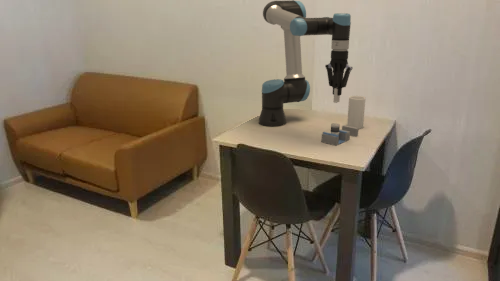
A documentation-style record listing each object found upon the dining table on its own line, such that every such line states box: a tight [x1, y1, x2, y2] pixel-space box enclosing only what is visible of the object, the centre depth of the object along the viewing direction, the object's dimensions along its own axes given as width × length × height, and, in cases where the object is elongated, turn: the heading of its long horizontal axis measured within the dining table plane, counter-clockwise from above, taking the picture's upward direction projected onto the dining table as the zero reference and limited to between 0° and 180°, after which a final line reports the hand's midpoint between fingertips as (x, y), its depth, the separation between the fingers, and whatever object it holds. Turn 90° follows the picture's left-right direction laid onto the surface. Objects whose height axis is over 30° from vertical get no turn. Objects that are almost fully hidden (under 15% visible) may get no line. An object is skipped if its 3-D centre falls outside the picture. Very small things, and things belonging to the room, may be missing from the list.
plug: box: [330, 122, 341, 135], centre depth 189 cm, size 4×4×8 cm
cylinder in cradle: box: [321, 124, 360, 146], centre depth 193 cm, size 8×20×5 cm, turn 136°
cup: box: [346, 95, 366, 130], centre depth 210 cm, size 8×8×16 cm
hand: (336, 102), depth 185 cm, fingers closed
